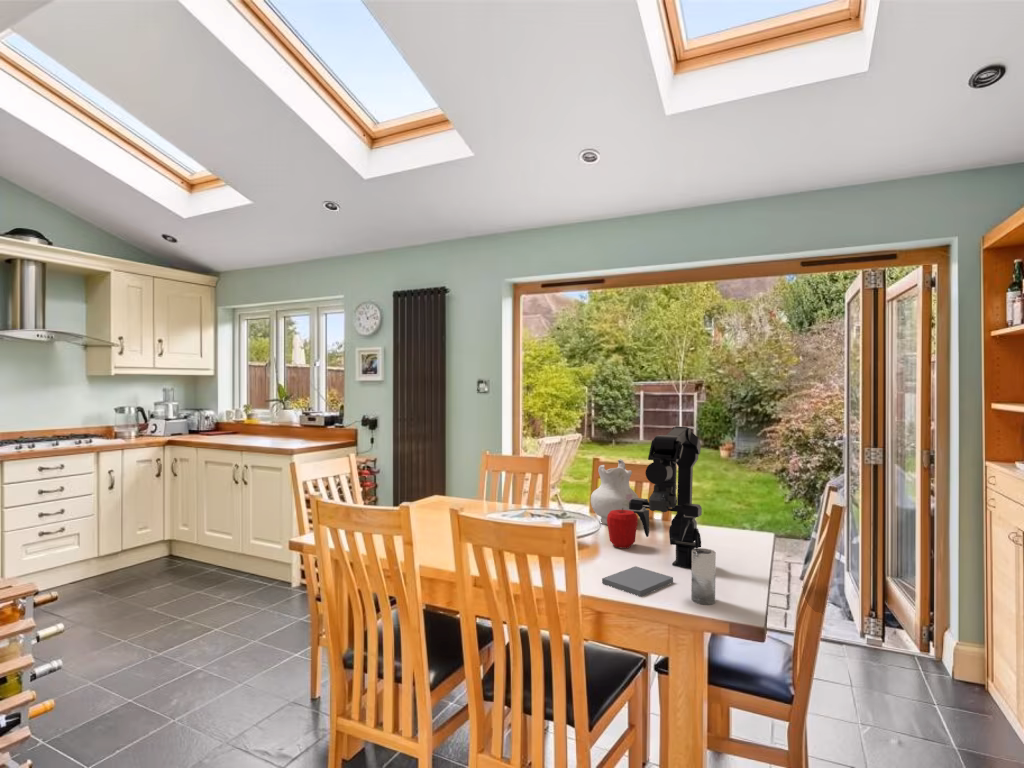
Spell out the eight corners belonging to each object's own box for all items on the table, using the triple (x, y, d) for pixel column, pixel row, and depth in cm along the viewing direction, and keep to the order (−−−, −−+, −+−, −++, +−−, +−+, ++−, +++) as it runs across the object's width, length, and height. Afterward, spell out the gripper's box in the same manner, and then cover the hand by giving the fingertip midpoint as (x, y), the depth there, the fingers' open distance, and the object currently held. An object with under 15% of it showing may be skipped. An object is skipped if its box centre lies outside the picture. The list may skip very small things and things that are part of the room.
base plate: (635, 571, 173) (635, 566, 173) (673, 582, 163) (673, 577, 163) (602, 583, 162) (602, 578, 162) (640, 596, 152) (640, 591, 152)
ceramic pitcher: (596, 516, 247) (591, 459, 247) (641, 515, 241) (637, 457, 242) (589, 529, 226) (585, 466, 226) (639, 528, 221) (634, 465, 221)
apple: (635, 542, 203) (635, 504, 203) (639, 551, 193) (639, 511, 193) (605, 541, 204) (606, 503, 204) (607, 550, 194) (608, 510, 194)
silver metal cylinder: (694, 594, 154) (694, 546, 154) (717, 599, 151) (717, 549, 151) (688, 601, 149) (689, 551, 149) (712, 606, 146) (712, 555, 146)
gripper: (623, 480, 154) (621, 538, 153) (694, 487, 145) (692, 549, 144) (635, 478, 164) (634, 532, 163) (702, 484, 155) (701, 542, 154)
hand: (663, 538), depth 155 cm, fingers open, 9 cm apart
